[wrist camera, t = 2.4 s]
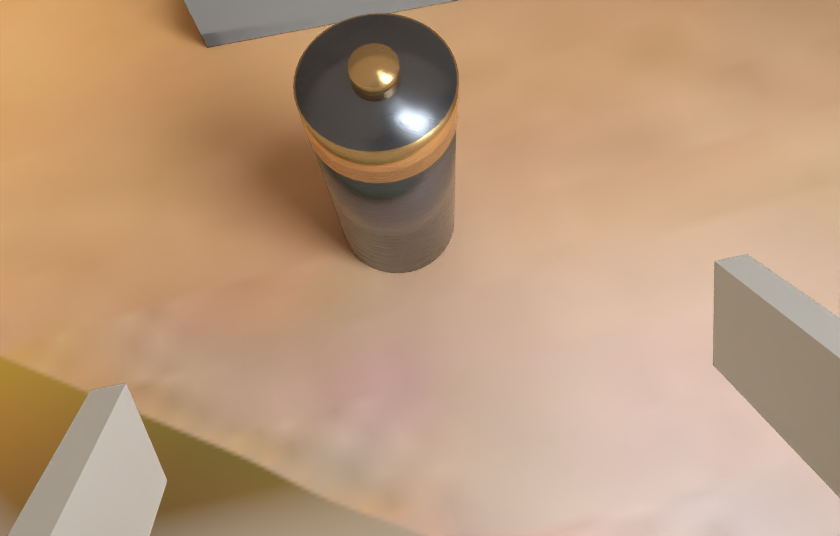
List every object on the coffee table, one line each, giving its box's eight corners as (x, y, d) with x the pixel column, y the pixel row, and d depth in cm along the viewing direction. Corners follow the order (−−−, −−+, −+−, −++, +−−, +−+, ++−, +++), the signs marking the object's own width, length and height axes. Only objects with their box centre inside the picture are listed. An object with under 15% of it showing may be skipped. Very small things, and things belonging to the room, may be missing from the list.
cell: (442, 161, 33) (439, -18, 22) (466, 261, 31) (476, 120, 20) (334, 182, 33) (278, 13, 22) (352, 284, 31) (300, 154, 20)
